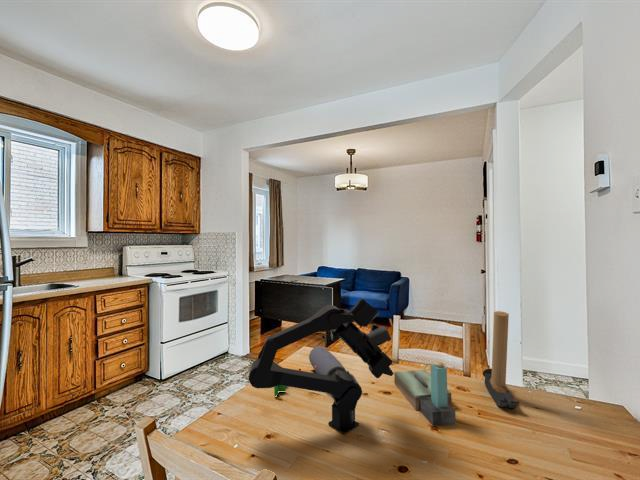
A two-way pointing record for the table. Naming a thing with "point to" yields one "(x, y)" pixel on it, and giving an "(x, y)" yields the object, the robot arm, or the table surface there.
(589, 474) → the table surface
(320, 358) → the bluetooth speaker
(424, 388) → the toolbox
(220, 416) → the table surface
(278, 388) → the pipe clamp
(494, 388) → the hammer
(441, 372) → the teal rectangular block
